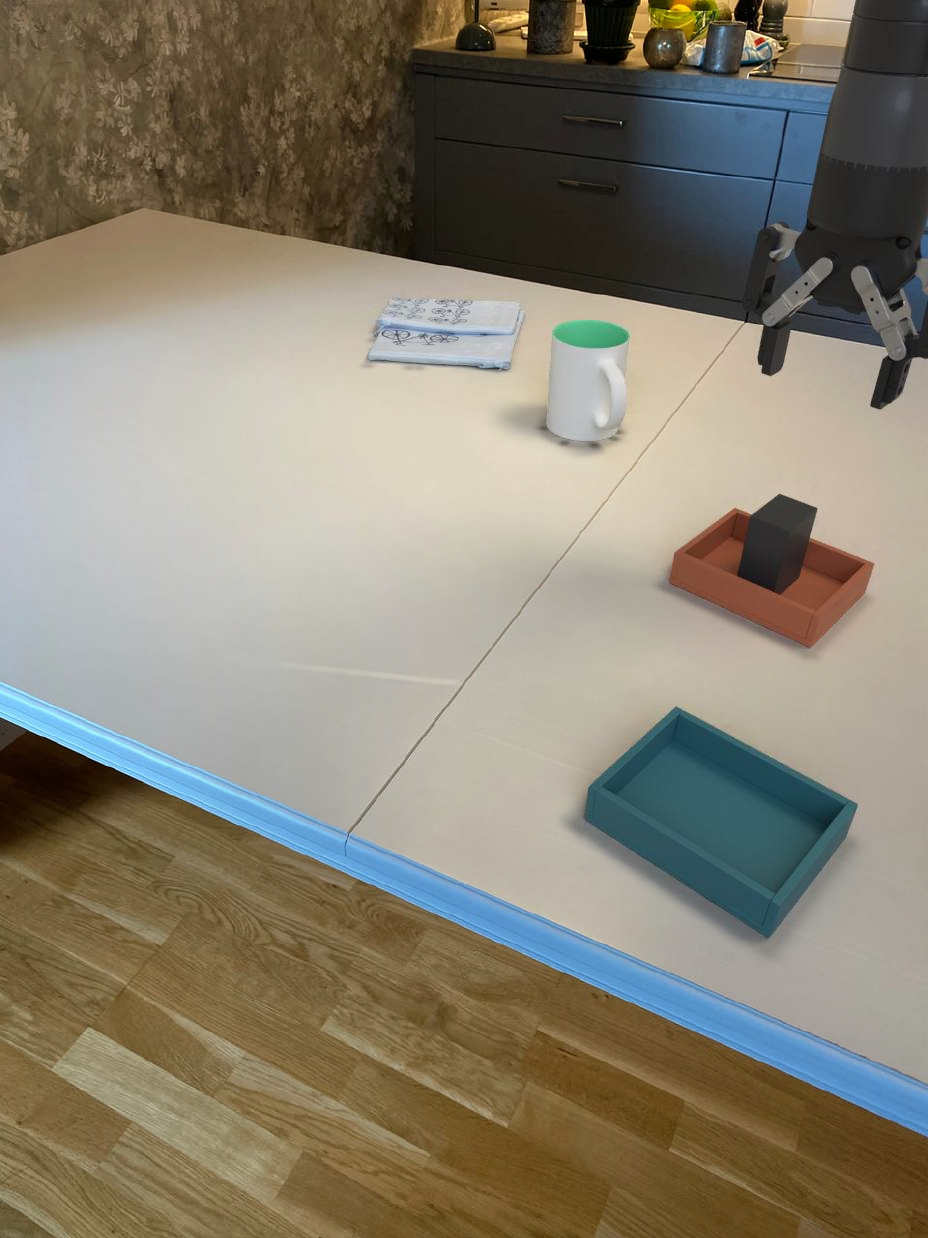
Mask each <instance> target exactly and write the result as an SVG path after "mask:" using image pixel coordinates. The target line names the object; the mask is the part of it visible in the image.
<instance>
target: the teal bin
mask: <svg viewBox="0 0 928 1238" xmlns="http://www.w3.org/2000/svg"><path fill="white" fill-rule="evenodd" d="M858 807H859V803H857V802H855V801H853V800H852V799H849V798H847V797H846V796H844V795H842V794H840V793H838V792H836V791H835V790H833V789H831V788H829V787H827V786H826V785H823V784H822V783H820V782H818V781H816V780H814V779H813V778H811V777H808V776H807V775H805V774H803V773H801V772H799V771H797V770H795V769H794V768H792V767H791V766H788V765H787V764H784V763H783V762H781V761H779V760H777V759H775V758H773V757H771V756H770V755H768V754H766V753H764V752H762V751H760V750H759V749H757V748H754V747H753V746H751V745H749V744H748V743H746V742H743V741H742V740H740V739H738V738H736V737H734V736H732V735H731V734H729V733H727V732H725V731H723V730H721V729H720V728H718V727H716V726H714V725H712V724H711V723H708V722H706V721H705V720H703V719H701V718H699V717H697V716H696V715H693V714H692V713H690V712H688V711H686V710H684V709H682V708H680V706H679V707H678V706H675V707H673V708H672V709H671V710H670V711H669V712H668V713H667V714H666V715H664V717H663V718H661V719H660V720H659V721H658V722H657V723H656V724H655V725H654V726H653V727H652V728H650V729H649V730H648V732H646V733H645V734H644V735H643V736H642V737H641V738H640V739H639V740H637V741H636V742H635V743H634V744H633V745H632V746H631V747H629V749H628V750H627V751H626V752H625V753H623V754H622V755H621V756H620V757H619V758H618V759H617V760H616V761H615V762H614V763H613V764H611V765H610V766H609V767H608V768H607V769H606V770H605V771H604V772H603V773H602V774H600V776H598V777H597V778H596V779H595V780H594V781H593V782H591V784H590V785H589V786H588V788H587V796H586V802H585V809H584V810H585V811H584V818H583V819H584V820H585V821H586V822H588V823H589V824H591V825H592V826H594V827H595V828H597V829H599V830H600V831H601V832H603V833H605V834H607V835H608V836H609V837H611V838H612V839H613V840H616V841H617V842H619V843H620V844H622V845H623V846H625V847H627V848H628V849H630V850H631V851H632V852H634V853H636V854H637V855H638V856H640V857H642V858H643V859H646V861H648V862H650V863H651V864H653V865H654V866H656V867H658V868H659V869H661V870H662V871H664V872H665V873H667V874H668V875H669V876H671V877H673V878H674V879H676V880H677V881H679V882H680V883H683V884H684V886H687V887H688V888H690V889H691V890H693V891H694V892H696V893H697V894H699V895H701V896H702V897H704V898H705V899H707V900H708V901H710V902H712V903H713V904H715V905H716V906H717V907H719V908H721V909H722V910H723V911H725V912H727V913H729V914H730V915H732V916H733V917H735V918H736V919H737V920H739V921H741V922H742V923H744V924H745V925H747V926H748V927H750V928H752V929H753V930H755V931H756V932H758V933H759V934H760V935H763V936H764V937H766V938H767V939H770V938H771V937H772V936H773V934H774V933H775V932H776V931H777V929H778V928H779V927H780V925H781V924H782V922H783V921H784V920H785V918H786V917H787V916H788V915H789V914H790V912H791V911H792V909H793V908H794V907H795V906H796V904H797V903H798V902H799V900H800V899H801V897H802V896H803V895H804V893H805V892H806V891H807V890H808V888H809V887H810V885H811V884H812V883H813V882H814V880H815V879H816V877H817V876H818V875H819V874H820V872H821V871H822V870H823V869H824V867H825V866H826V865H827V863H828V862H829V861H830V859H831V858H832V856H833V855H834V854H835V853H836V851H837V850H838V849H839V847H840V846H841V845H842V843H843V842H844V841H845V839H846V838H847V837H848V834H849V831H850V828H851V826H852V824H853V820H854V818H855V815H856V813H857V810H858Z"/></svg>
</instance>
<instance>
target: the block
mask: <svg viewBox="0 0 928 1238" xmlns="http://www.w3.org/2000/svg"><path fill="white" fill-rule="evenodd" d="M818 509H819V508H818V507H817V506H814V505H812V504H809V503H805V502H803V501H801V500H798V499H796V498H792V497H790V496H787V495H784V494H782V493H778V494H777V495H775V496H774V497H773V498H771V499H770V500H769V501H768V502H766V503H765V504H764V505H762V506H761V507H760V508H759V509H757V510H756V511H755V512H753V513H751V514H752V515H751V516H750V519H749V524H748V528H747V533H746V537H745V542H744V547H743V551H742V556H741V560H740V565H739V569H738V574H737V576H738V577H740V578H742V579H745V580H747V581H749V582H752V583H754V584H756V585H758V586H761V587H763V588H765V589H767V590H770V591H772V592H774V593H777V594H779V595H780V594H781V593H783V592H784V591H785V590H786V589H787V588H788V587H789V586H790V585H791V584H793V583H794V582H795V581H796V580H797V579H798V578H799V576H800V573H801V569H802V565H803V561H804V558H805V554H806V550H807V547H808V543H809V539H810V538H811V535H812V531H813V528H814V525H815V524H814V523H815V520H816V516H817V513H818Z"/></svg>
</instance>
